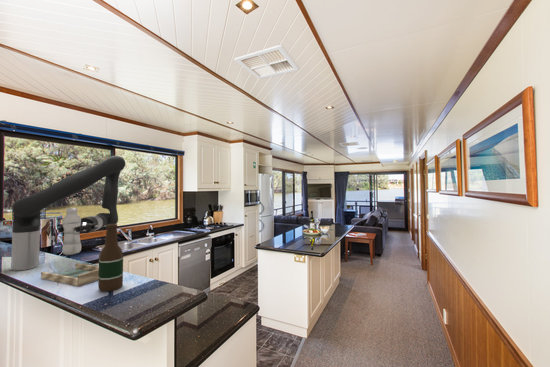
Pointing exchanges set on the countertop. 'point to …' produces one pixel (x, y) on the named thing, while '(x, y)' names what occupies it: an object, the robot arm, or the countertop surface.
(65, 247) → the plastic bottle
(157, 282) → the countertop surface
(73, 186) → the robot arm
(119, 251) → the beer bottle
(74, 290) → the countertop surface
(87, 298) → the countertop surface
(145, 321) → the countertop surface
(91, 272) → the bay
